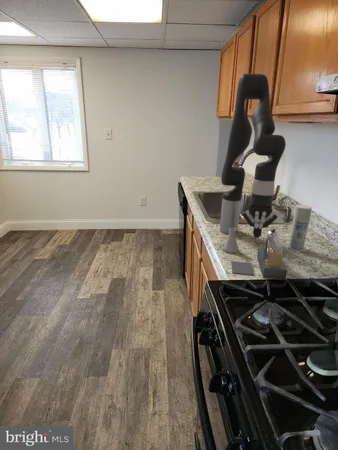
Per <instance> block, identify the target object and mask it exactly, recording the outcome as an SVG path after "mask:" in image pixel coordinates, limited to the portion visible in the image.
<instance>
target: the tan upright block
mask: <svg viewBox="0 0 338 450" xmlns="http://www.w3.org/2000/svg"><path fill="white" fill-rule="evenodd" d="M283 253H284V252H283V250H282V251H281V254H279V253H276V252H275V250H274V248H269V254H268V260H267V261H268V264H269V267H278V268H281V264H282V260H283V257H284V254H283Z"/></svg>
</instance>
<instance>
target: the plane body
mask: <svg viewBox="0 0 338 450" xmlns="http://www.w3.org/2000/svg"><path fill="white" fill-rule="evenodd" d="M269 248H273V246H272V243H271V241H270V240H268V239H267V238H265V244H264V248H258V249H257V254H256V258H257V262H258V265H259V268H260V273H261V276H262V278H263V279H270V280H271V279H272V280H280V281H281V280H282V279H287V275H288V268H287V267H286V264H285V263H284V262H285V261H284V260H283V259H282V264H281V268H278V267H269V264H268V261H267V260H268V254H269Z"/></svg>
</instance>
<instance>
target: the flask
mask: <svg viewBox="0 0 338 450" xmlns="http://www.w3.org/2000/svg"><path fill="white" fill-rule="evenodd" d="M235 231H236V229H235V228H229V234H227V239H226V241H225V243H224V244H223V246H222V248H221V250H222V251H223V252H225V253H230V254H235V253H239V246H238V242H237V238H236V233H235Z"/></svg>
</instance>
